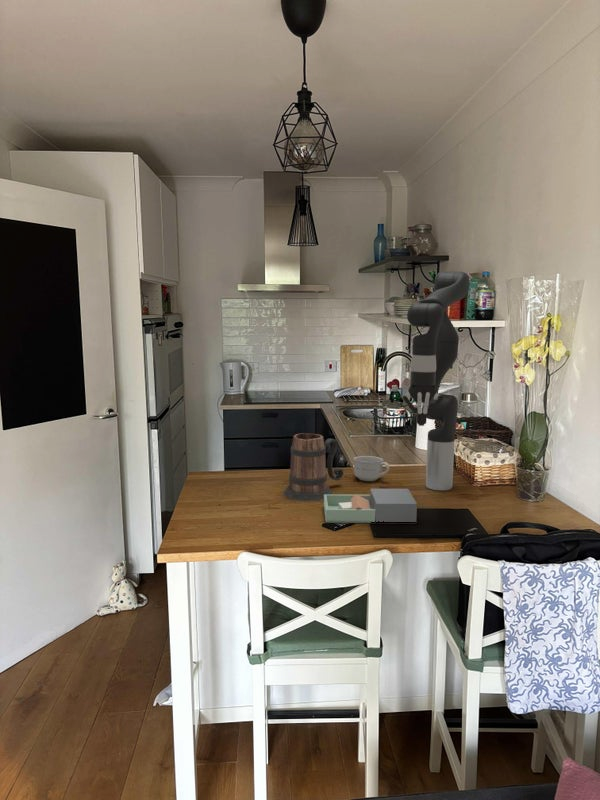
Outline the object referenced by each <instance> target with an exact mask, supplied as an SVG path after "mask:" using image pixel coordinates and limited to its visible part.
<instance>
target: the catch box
mask: <svg viewBox="0 0 600 800" xmlns="http://www.w3.org/2000/svg"><path fill="white" fill-rule="evenodd" d="M355 495H356V494H332V495H327V494H324V499H323V511H324V512H323V513H324V517H325V518H324V520H325V524H336V523H337V524H372V523H371V522H375V509H371V508H370V509H338V503H345V502H351V498H352V497H353V496H355ZM358 495H359V496H361V497H363V498H365V499H367V500H368V501H369V506H370V494H358ZM375 523H376V522H375Z"/></svg>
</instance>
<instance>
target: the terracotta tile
mask: <svg viewBox="0 0 600 800" xmlns="http://www.w3.org/2000/svg"><path fill="white" fill-rule="evenodd" d="M354 495H355V496H353V497H352V498H351V503H352V509H370V506H369V501H368V500H367V499H365V498H363V497H361V496H359V495H360V494H357V493H356V494H354Z"/></svg>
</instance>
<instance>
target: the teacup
mask: <svg viewBox="0 0 600 800" xmlns="http://www.w3.org/2000/svg"><path fill="white" fill-rule="evenodd" d="M384 466H385V467H386V468H385V470H384V471H383V467H384ZM389 471H390V464H389V463H388V462H387V461H384V459H383V458H381V457H379V456H374V455H373V456H371V455H361V456H355V457H353V473H354V475H355V477H357V478H358V479H359V480H360V481H364V482H374V481H375V482H376V481H377V480H379V478H381V477H383V475H385V474H387V473H389Z"/></svg>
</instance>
